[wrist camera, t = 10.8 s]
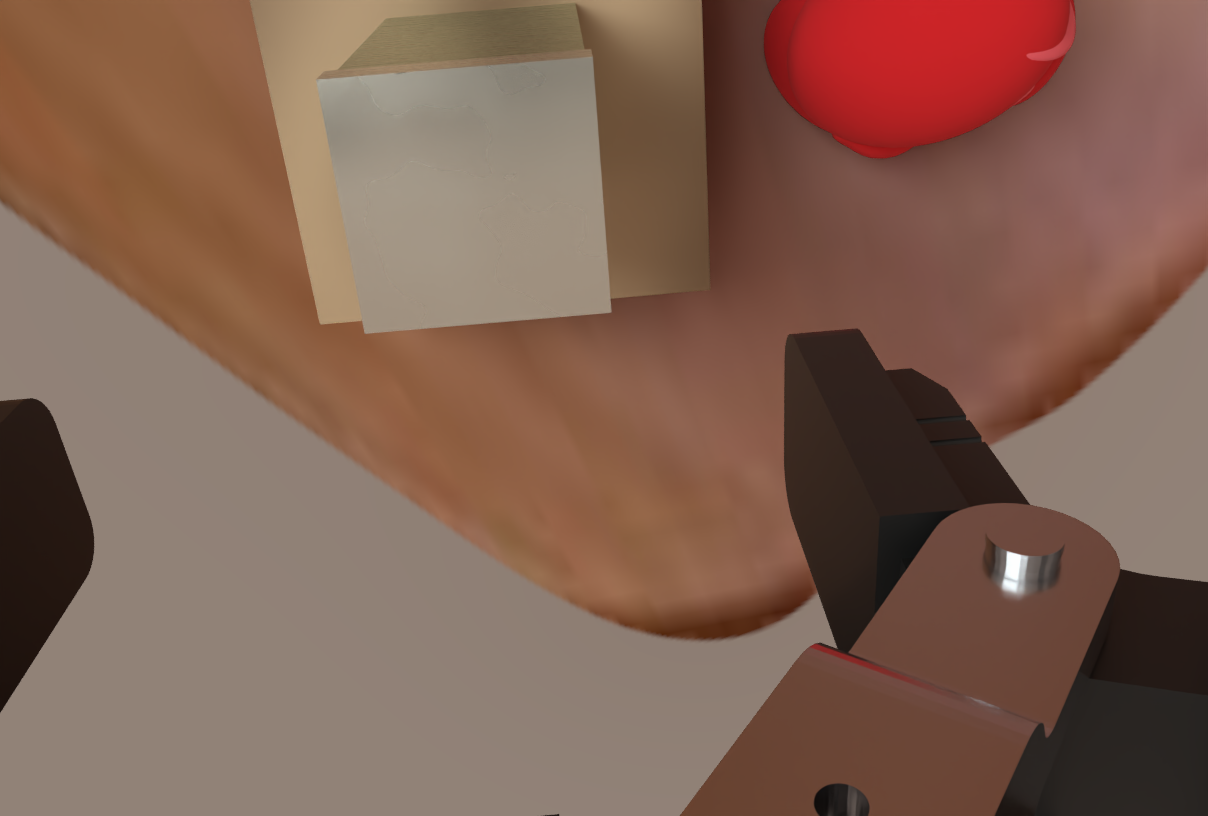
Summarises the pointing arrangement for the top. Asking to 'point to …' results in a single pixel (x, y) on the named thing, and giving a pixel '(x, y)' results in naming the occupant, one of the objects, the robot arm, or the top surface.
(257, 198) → the top surface
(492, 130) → the tea tin
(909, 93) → the cap
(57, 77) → the top surface
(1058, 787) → the robot arm
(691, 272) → the beige flat block
